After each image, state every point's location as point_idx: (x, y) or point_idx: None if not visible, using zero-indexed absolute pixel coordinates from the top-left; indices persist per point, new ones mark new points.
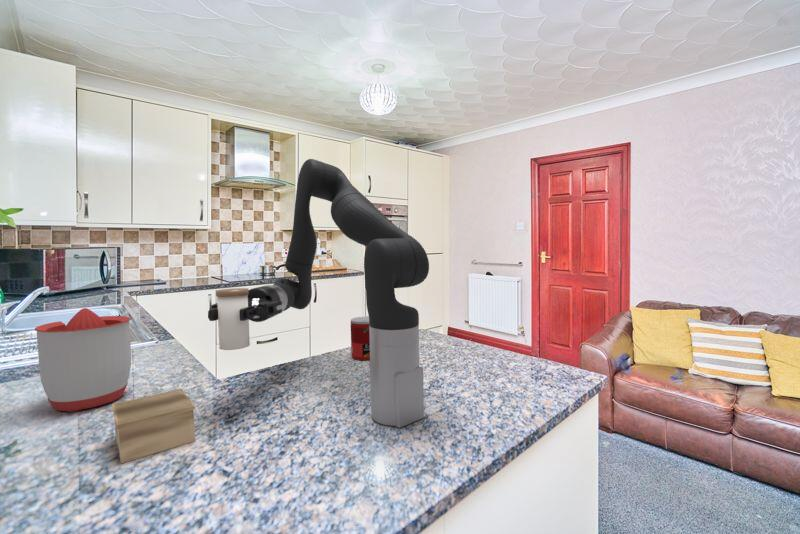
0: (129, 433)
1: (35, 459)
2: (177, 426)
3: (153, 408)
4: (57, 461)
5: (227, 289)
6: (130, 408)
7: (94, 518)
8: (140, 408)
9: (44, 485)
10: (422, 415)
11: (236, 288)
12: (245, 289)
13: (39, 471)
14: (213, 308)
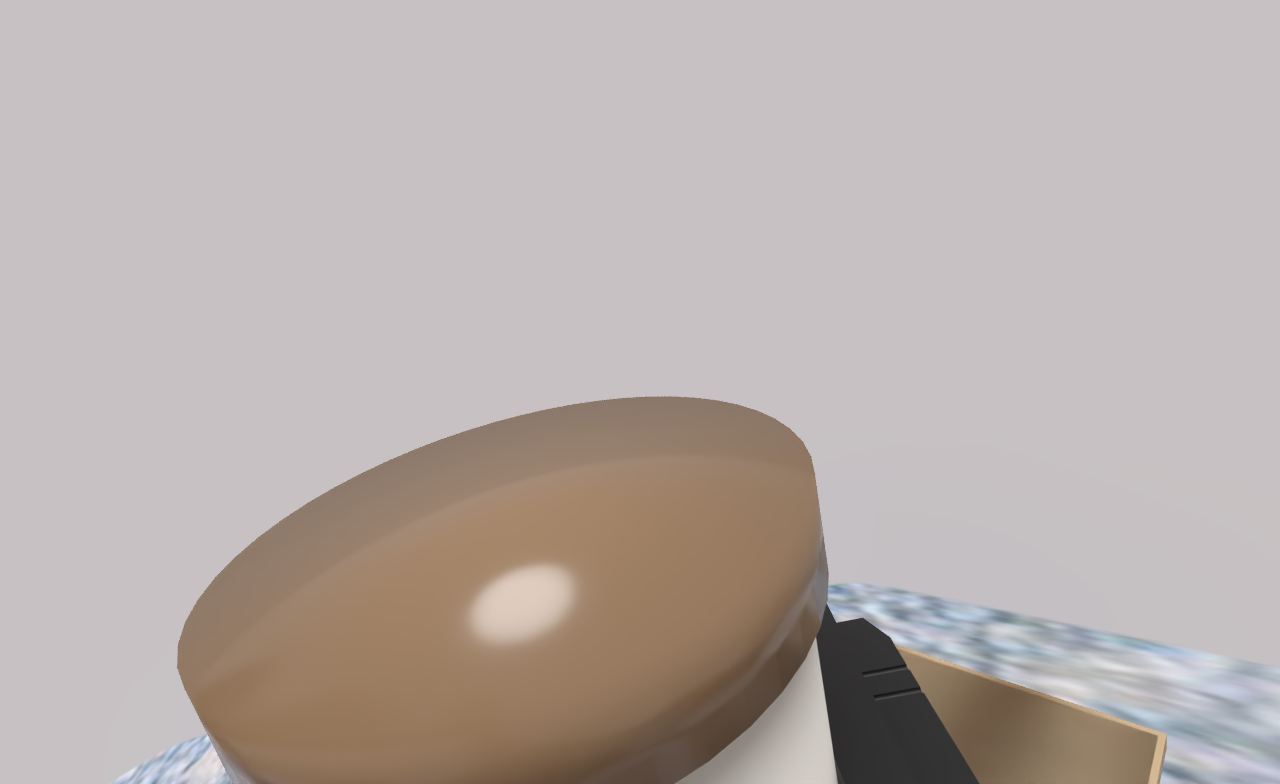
0: None
1: (1202, 694)
2: None
3: None
4: (1109, 706)
5: (658, 507)
6: (1005, 725)
7: None
8: (959, 734)
9: (961, 643)
10: None
11: (533, 667)
12: (262, 563)
13: (1073, 667)
14: (834, 638)
